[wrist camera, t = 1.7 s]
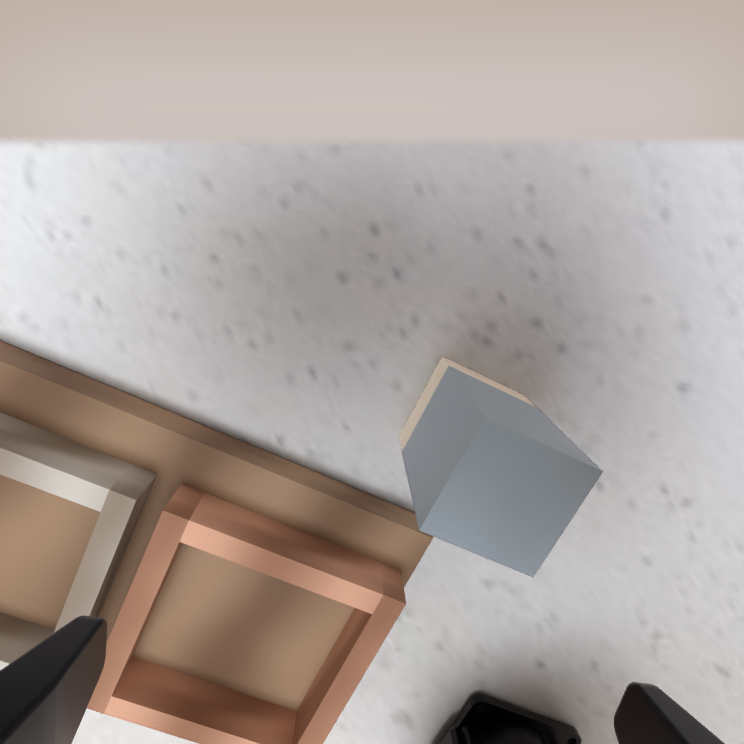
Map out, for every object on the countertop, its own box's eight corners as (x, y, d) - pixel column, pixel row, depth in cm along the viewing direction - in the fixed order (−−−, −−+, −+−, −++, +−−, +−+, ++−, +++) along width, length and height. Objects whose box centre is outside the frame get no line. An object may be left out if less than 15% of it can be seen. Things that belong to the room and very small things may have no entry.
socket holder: (427, 518, 23) (440, 568, 19) (302, 734, 26) (295, 809, 23) (-72, 310, 19) (-161, 327, 16) (-144, 588, 23) (-231, 650, 19)
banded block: (524, 395, 21) (603, 471, 15) (478, 472, 22) (533, 577, 15) (441, 356, 21) (484, 416, 14) (398, 436, 22) (419, 530, 15)
